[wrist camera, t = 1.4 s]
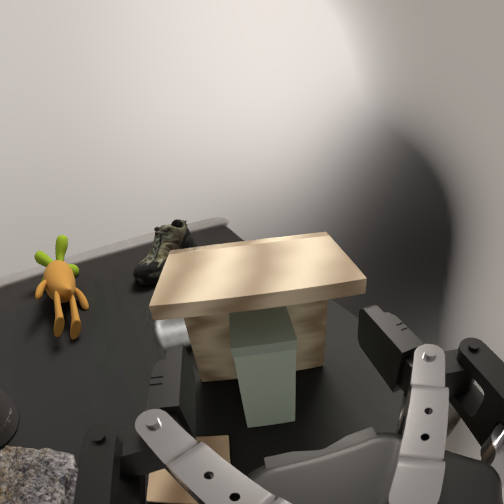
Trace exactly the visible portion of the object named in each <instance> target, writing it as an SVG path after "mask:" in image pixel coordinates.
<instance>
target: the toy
mask: <svg viewBox="0 0 504 504" xmlns="http://www.w3.org/2000/svg"><path fill="white" fill-rule="evenodd" d="M67 246H68V239H67V237H66V236H64V235H60V236H58V237H57V240H56V260H55V261H53V260H52V259H51V258H50V257H49V256H47V254H45V253H44V252H42V251H38V252H36V254H35V260H36V261H37V262H38V263H39V264H41V265H43V266H45V267H46V269H45V272H44V277H43V278H42V280H41V283H40V284H39V286H38V287H37V289H36V293H35V297H36V299H38V300H39V299H40V298H41V297H42V295H43V292H44V289H45V290H46V292H47V294H48V295H49V297H50V298H51V299H53V300H54V305H55V322H54V335H55V337H59V336H60V335H61V334H62V332H63V329H64V323H65V321H64V317H63V313H62V308H61V303H66V302H69V303H70V308H71V316H72V322H71V329H70V337H71V339H72V340H74V339H76V338H77V337H78V336H79V333H80V330H81V321H80V318H79V314H78V310H77V305H76V301H75V297H74V294H75V295H76V297H77V298H78V300H79V303H80V305H81V307H82V308H83V309H84V310H88V308H89V305H88V302H87V299H86V297H85V296H84V294H83V293H82V292H81V291H80V290H79V289H78V288H76V287H75V286H76V285H75V277H76V276H77V275H78V274H79V268H78V267H77V266H76V265H73V264H67V263H65V262H64V256H65V253H66V250H67Z"/></svg>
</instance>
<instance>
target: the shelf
mask: <svg viewBox="0 0 504 504" xmlns="http://www.w3.org/2000/svg"><path fill="white" fill-rule="evenodd" d="M366 280H367V279H366V277H365V276H364V275H363V274H362V272H361V271H360V270H359V269H358V268H357V267H356V265H355V264H354V263H353V262H352V261H351V260H350V258H349V257H348V256H347V255H346V254H345V253H344V252H343V251H342V249H341V248H340V247H339V246H338V245H337V244H336V243H335V241H334V240H333V239H332V238H331V237H330V236H329V235H328V234H327V233H326V232H320V233H311V234H302V235H294V236H285V237H276V238H268V239H259V240H251V241H242V242H234V243H225V244H217V245H209V246H201V247H193V248H185V249H177V250H170V252H169V255H168V257H167V260H166V262H165V265H164V268H163V270H162V273H161V275H160V278H159V281H158V283H157V286H156V289H155V291H154V294H153V297H152V299H151V302H150V305H149V307H150V311H151V314H152V317H153V320H164V319H175V318H184V320H185V324H186V328H187V331H188V335H189V339H190V342H191V346H192V349H193V353H194V356H195V359H196V363H197V366H198V369H199V373H200V376H201V379H202V382H207V381H219V380H230V379H238V378H237V372H236V367H235V362H234V358H232V353H231V345H230V323H229V313H234V312H243V311H251V310H259V309H266V308H274V307H281V306H286V307H287V310H288V313H289V316H290V319H291V322H292V325H293V328H294V331H295V334H296V337H297V349H296V371H297V370H303V369H308V368H314V367H319V366H323V361H324V348H325V335H326V319H327V300H328V299H334V298H340V297H346V296H351V295H357V294H362V293H365V290H366Z"/></svg>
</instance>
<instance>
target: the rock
mask: <svg viewBox="0 0 504 504" xmlns="http://www.w3.org/2000/svg"><path fill="white" fill-rule="evenodd" d="M77 475H78V468H77V464H76V461H75V457H74V456H73V455H72V454H69V453H66V452H58V451H53V450H52V449H50V448H43V449H40V450H37V449H33V448H23V447H10V446H5V448H4V449H2V450H1V451H0V504H73V503H74V495H75V488H76V481H77Z"/></svg>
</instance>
